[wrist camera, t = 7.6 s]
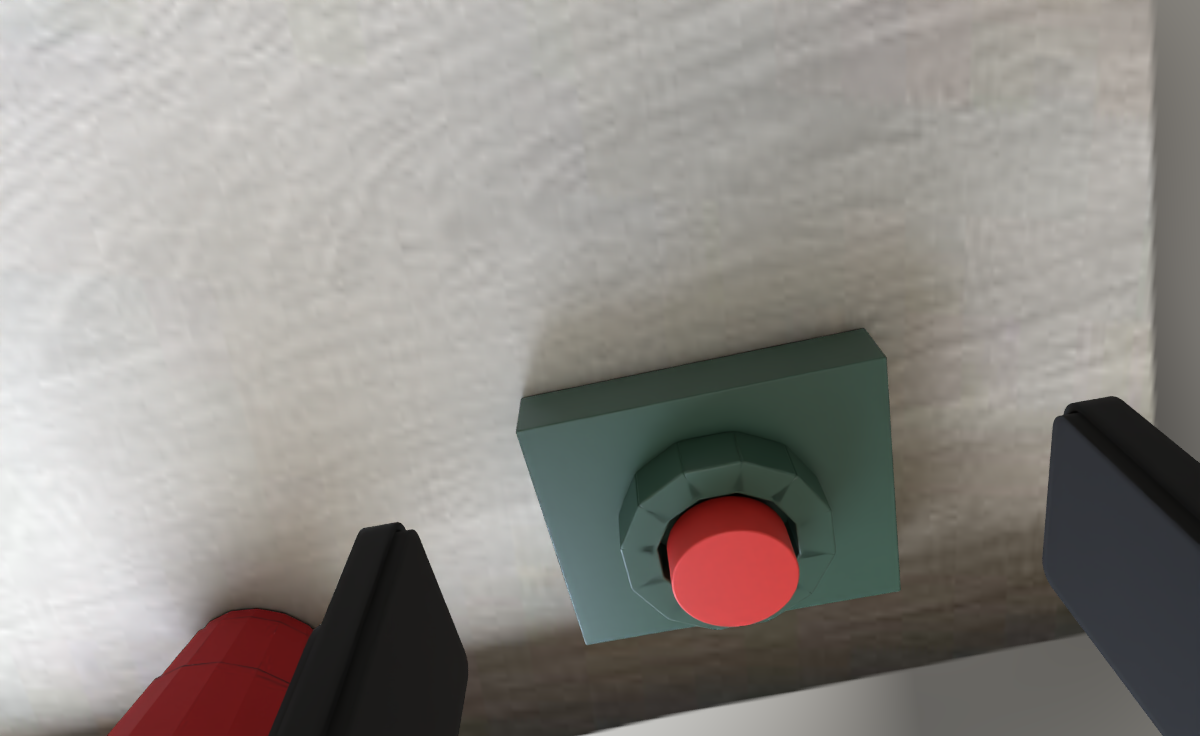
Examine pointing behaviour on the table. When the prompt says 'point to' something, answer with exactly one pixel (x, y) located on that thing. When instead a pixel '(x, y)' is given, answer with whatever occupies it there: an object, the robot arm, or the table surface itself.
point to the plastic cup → (223, 679)
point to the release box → (717, 474)
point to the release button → (731, 561)
